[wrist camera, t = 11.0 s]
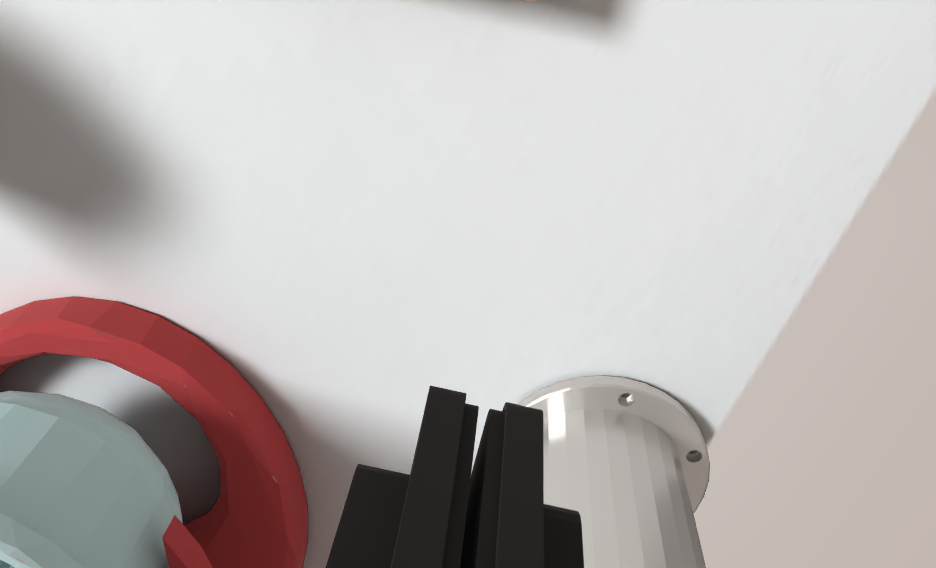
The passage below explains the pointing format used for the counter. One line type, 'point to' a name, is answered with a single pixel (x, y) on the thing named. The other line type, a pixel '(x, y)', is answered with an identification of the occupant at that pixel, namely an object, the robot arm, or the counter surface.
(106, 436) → the stand mixer
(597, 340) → the counter surface
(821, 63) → the counter surface
